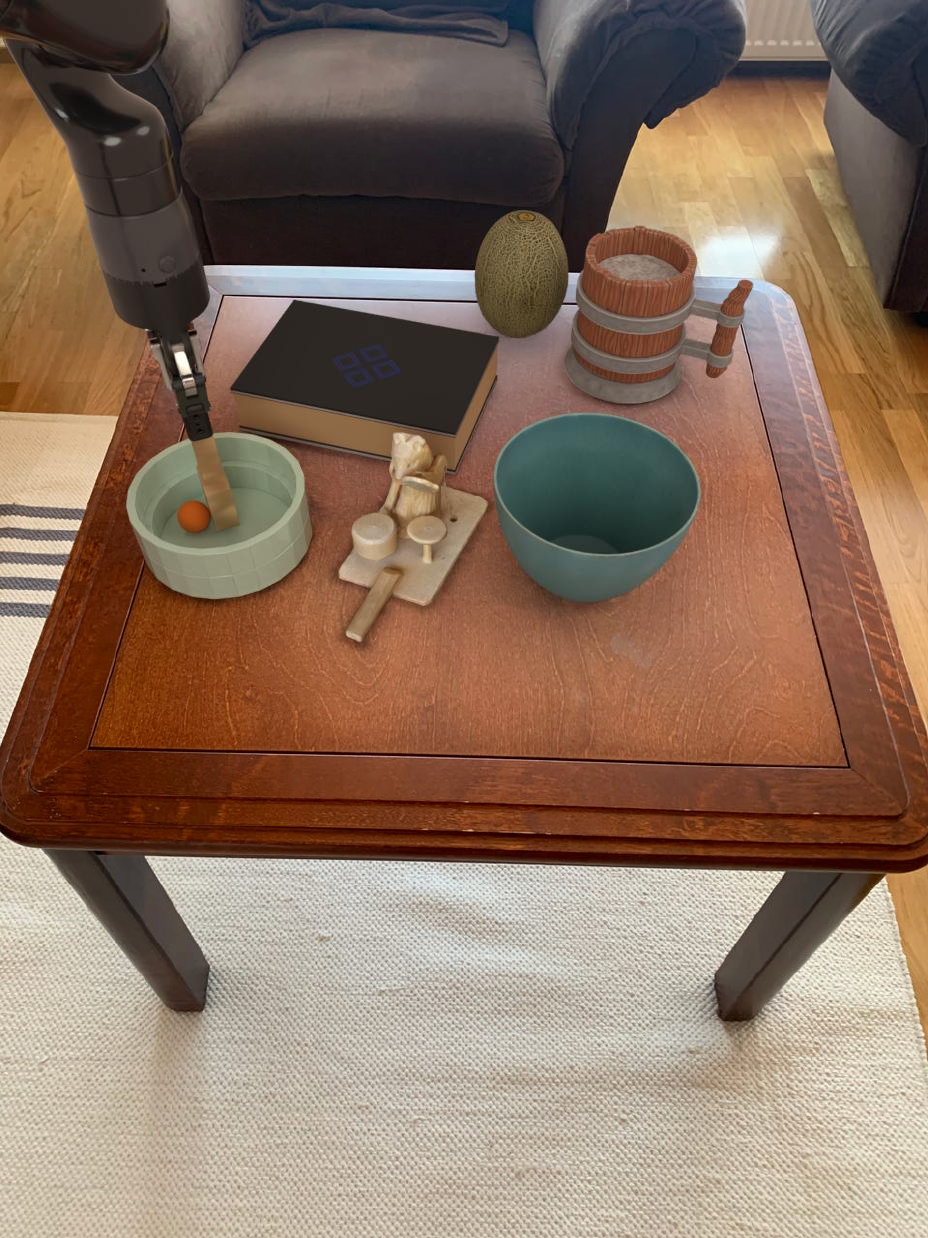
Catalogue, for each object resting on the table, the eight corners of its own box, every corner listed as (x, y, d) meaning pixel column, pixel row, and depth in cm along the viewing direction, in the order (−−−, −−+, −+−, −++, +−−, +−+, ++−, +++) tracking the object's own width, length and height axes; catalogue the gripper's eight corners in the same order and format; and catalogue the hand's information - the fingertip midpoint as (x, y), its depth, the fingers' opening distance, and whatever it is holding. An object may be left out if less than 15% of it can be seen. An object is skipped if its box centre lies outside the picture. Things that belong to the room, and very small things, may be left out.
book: (301, 347, 113) (293, 298, 108) (497, 384, 109) (499, 335, 103) (240, 436, 102) (229, 387, 97) (455, 481, 98) (455, 433, 93)
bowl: (164, 625, 86) (144, 575, 80) (132, 508, 95) (112, 457, 90) (334, 574, 90) (326, 524, 84) (287, 467, 99) (277, 415, 94)
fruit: (567, 356, 112) (580, 240, 100) (475, 357, 112) (477, 241, 100) (557, 303, 119) (569, 189, 107) (471, 304, 119) (473, 189, 107)
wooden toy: (406, 475, 99) (400, 370, 88) (493, 505, 96) (498, 399, 85) (298, 621, 86) (276, 518, 76) (395, 659, 84) (387, 558, 73)
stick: (216, 532, 91) (178, 401, 78) (206, 502, 93) (167, 371, 81) (240, 525, 91) (205, 394, 79) (229, 496, 94) (194, 364, 81)
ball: (192, 544, 92) (174, 525, 89) (186, 523, 94) (167, 504, 91) (220, 528, 92) (202, 509, 89) (213, 507, 93) (195, 488, 91)
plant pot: (667, 509, 96) (691, 416, 86) (682, 649, 84) (711, 560, 75) (493, 500, 96) (497, 407, 87) (485, 638, 85) (488, 548, 75)
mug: (583, 325, 116) (598, 209, 104) (734, 361, 112) (768, 245, 100) (547, 389, 108) (559, 272, 96) (709, 431, 104) (741, 313, 92)
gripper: (85, 217, 73) (143, 394, 87) (113, 309, 65) (171, 488, 79) (179, 200, 75) (221, 376, 89) (217, 287, 67) (257, 466, 81)
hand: (198, 428), depth 84 cm, fingers closed on stick, 2 cm apart
